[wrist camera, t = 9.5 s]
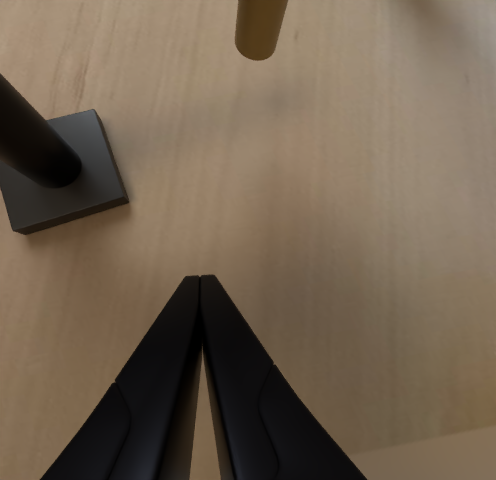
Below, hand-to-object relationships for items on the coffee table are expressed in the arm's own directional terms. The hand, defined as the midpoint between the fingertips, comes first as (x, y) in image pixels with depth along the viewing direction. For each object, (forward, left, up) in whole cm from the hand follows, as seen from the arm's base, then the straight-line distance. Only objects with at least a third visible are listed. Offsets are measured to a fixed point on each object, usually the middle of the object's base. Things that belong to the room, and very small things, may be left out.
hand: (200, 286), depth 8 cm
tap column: (+11, +6, -11) cm, 17 cm away
